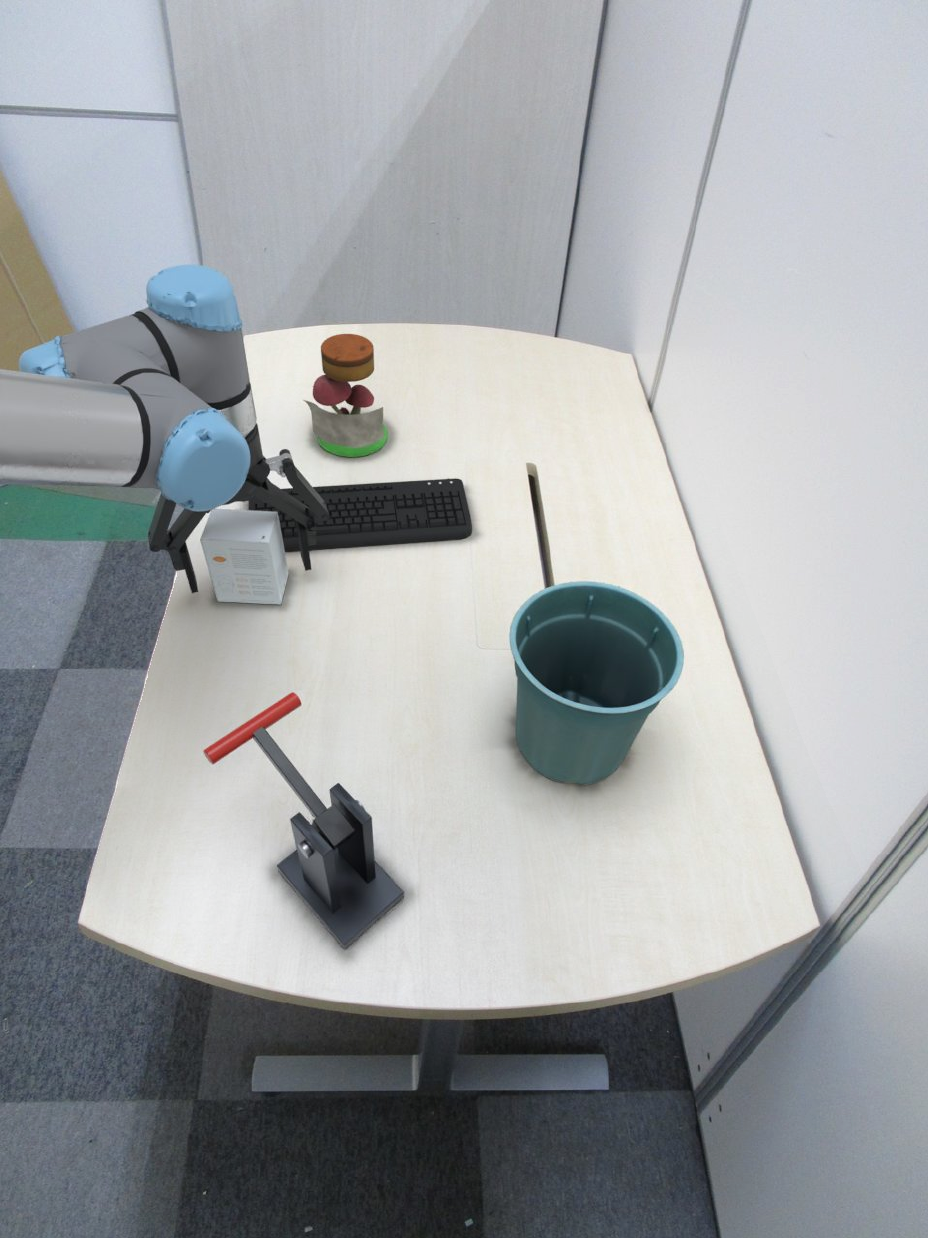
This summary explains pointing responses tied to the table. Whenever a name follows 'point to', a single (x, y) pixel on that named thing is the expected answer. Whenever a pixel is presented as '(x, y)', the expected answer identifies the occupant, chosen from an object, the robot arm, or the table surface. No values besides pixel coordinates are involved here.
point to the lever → (285, 768)
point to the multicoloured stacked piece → (346, 398)
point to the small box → (245, 556)
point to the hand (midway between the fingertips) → (251, 573)
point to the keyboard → (382, 514)
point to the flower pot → (588, 676)
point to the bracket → (340, 873)
